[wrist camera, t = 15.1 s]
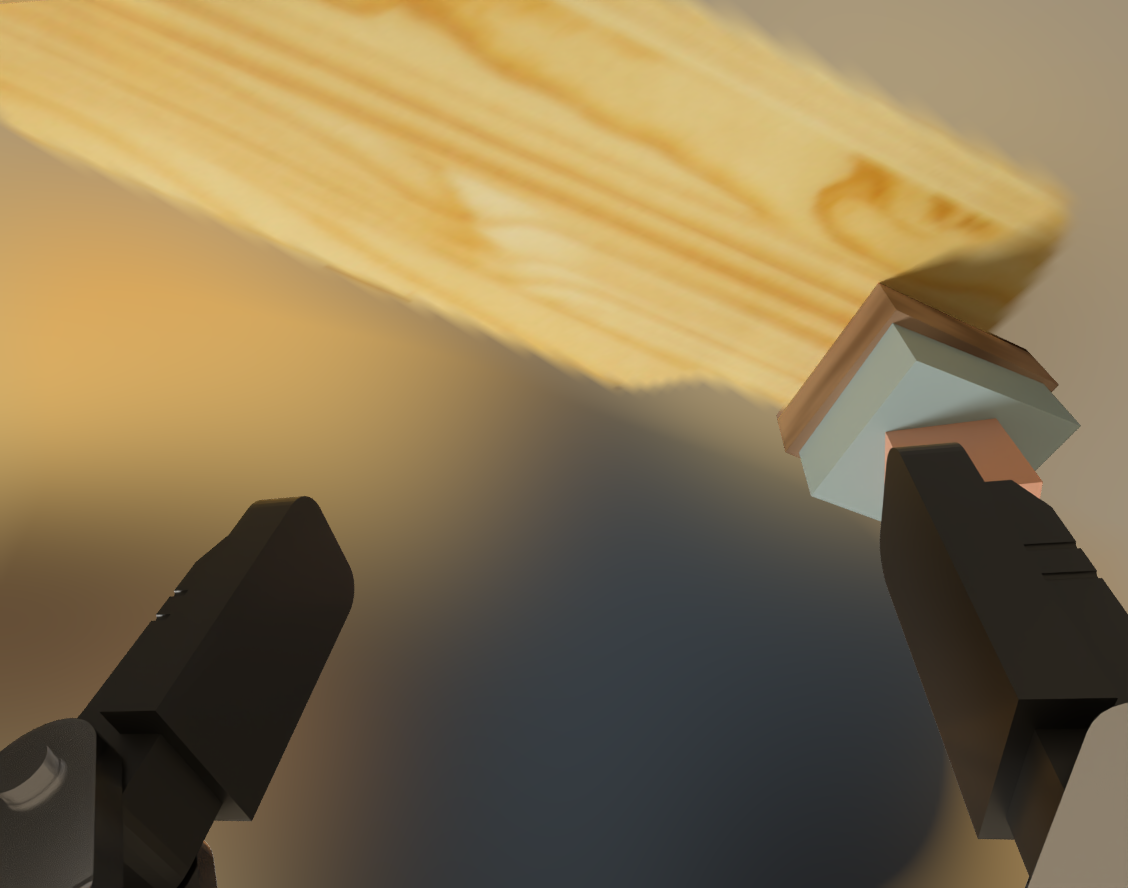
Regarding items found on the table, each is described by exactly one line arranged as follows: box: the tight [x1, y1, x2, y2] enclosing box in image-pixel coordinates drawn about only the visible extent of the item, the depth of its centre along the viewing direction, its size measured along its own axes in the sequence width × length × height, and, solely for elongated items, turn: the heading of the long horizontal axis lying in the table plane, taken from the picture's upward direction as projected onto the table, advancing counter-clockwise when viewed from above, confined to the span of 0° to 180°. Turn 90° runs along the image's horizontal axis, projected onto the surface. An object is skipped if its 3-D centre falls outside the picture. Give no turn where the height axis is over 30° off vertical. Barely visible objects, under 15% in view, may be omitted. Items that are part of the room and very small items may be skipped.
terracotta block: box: [884, 418, 1043, 499], centre depth 33 cm, size 5×5×5 cm
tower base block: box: [776, 283, 1058, 458], centre depth 40 cm, size 10×10×4 cm
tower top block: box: [799, 323, 1080, 521], centre depth 37 cm, size 9×9×4 cm
